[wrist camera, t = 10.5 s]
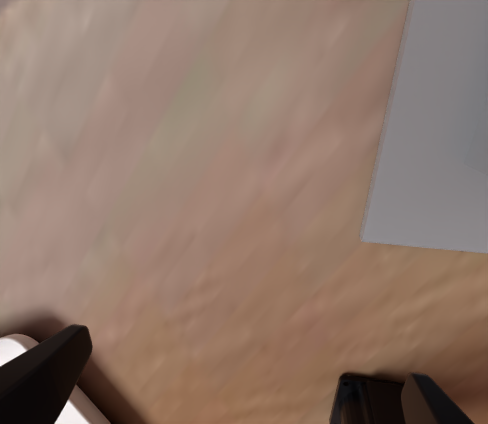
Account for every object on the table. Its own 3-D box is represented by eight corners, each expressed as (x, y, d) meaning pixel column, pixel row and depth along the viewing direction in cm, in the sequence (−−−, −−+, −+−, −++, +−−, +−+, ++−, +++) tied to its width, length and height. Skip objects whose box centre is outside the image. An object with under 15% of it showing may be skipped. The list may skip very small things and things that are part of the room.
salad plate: (40, 308, 27) (8, 338, 24) (158, 447, 34) (144, 484, 31) (-91, 352, 34) (-129, 380, 30) (31, 462, 40) (9, 494, 37)
